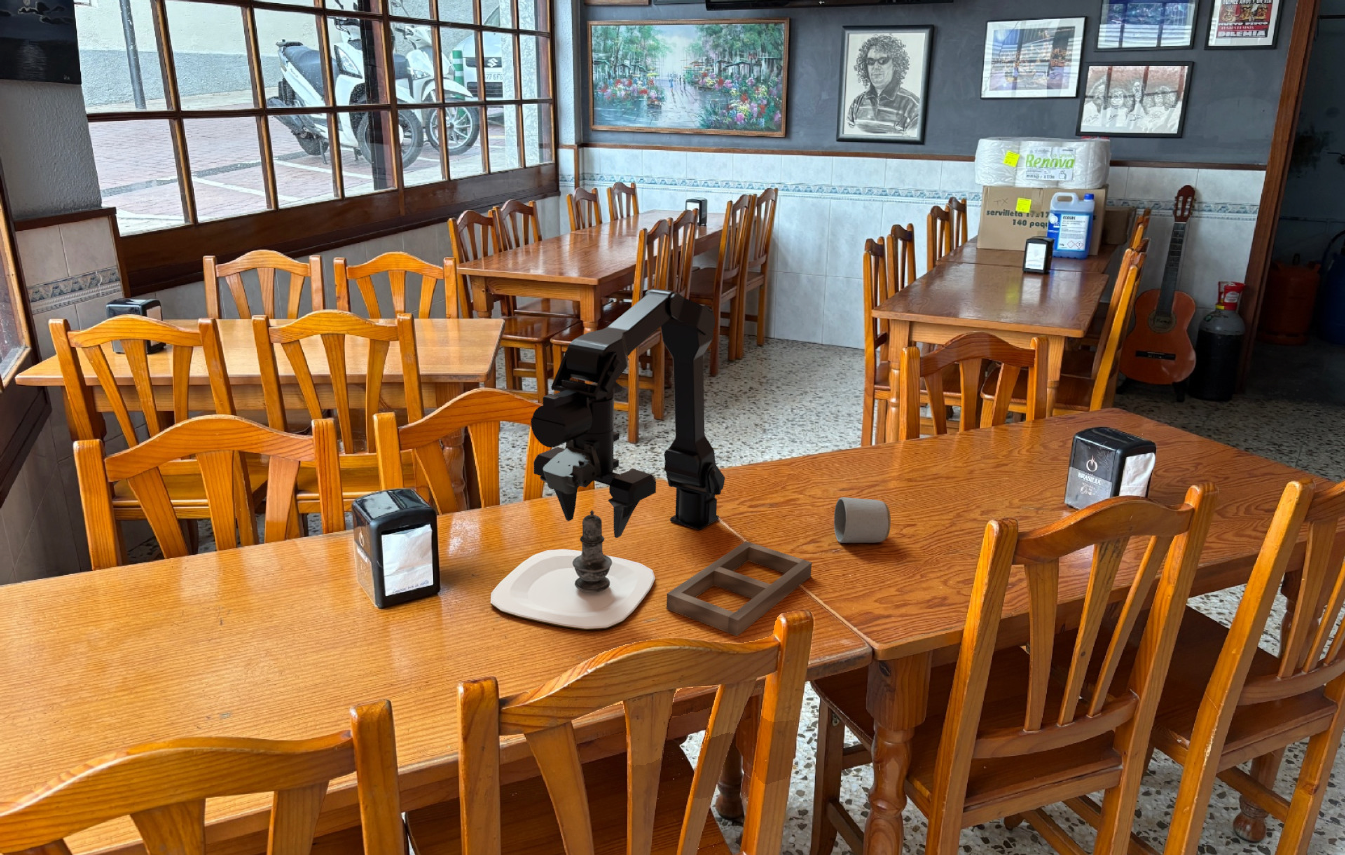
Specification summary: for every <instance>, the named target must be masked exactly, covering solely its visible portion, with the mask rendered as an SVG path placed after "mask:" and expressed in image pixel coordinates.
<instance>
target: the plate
mask: <svg viewBox="0 0 1345 855" xmlns="http://www.w3.org/2000/svg"><path fill="white" fill-rule="evenodd" d="M581 554H582V550H573V549H566V548H564V549H563V548H561V549H547V550H544V551H541V552H538V553H536V554H533V555H531V556H530V557H528V558H526V560H524V561H522V562H521V563H520V564H519V565H518V566H516V567H515V568H514V569H513V570H512V571H511V572H510V573H508V574H507V575H506V577H504V578H503V579H501V581H500V582H499V583H498V584H497V585H496V587H495V588H494V589H493V590H492V591H491V593H490V605H492V606H493V607H494V608H496V609H497V610H499V612H502V613H505V614H507V615H510V616H514V617H517V618H520V619H525V620H529V621H534V622H539V623H542V624H545V625H546V624H548V625H551V626H552V625H553V626H556V627H557V626H558V627H562V628H568V629H575V630H576V629H577V630H583V631H584V630H585V631H591V630H594V631H595V630H605V629H609V628H611V627H614V626H616V625H618V624H621V623H622V622H623V623H624V621H625V620H626V619H627V618H629V616H630V615H631V614H632V613H634V611H635V610H637V608H638V606H640V604H641V603H642V601H643V600H644V599H645V598H646V596H647V595H648V593H649V592H650V591H651V589H652V587H653V585H654V583H655V581H656V577H655V573H654V571H653V569H652V568H649V567H648V566H647V565H644V564H642V563H640V562H637V561H633V560H631V559H630V560H629V559H625V558H622V557H618V556H617V557H616V556H611V555H606V556H608V557H609V558H610V559H611V560H612V565H611V566H610V570H609V572H608V574H607V576H605V577H606V578H608V579H609V581H610V585H609V587H608V588H607V589H605V590H603V591H599V592H584V591H581V590H579V589H577V588H576V586H575V581H576V580H577V579H578V578H579V576H578V575H577V573H576V571H575V567H574V566H573V564H572V563H573V560H574V559H575V558H576V557H578V556H580V555H581Z"/></svg>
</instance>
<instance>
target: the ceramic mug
mask: <svg viewBox="0 0 1345 855" xmlns="http://www.w3.org/2000/svg"><path fill="white" fill-rule="evenodd" d="M891 518H892V517H891V512H890V507H889V506H888V504H887V503H886V502H884V501H882V500H878V499H870V498H869V499H868V498H854V497H844V496H843V497H839V498H838V500H836V504H835V507H834V515H833V526H834V528H833V529H834V535H835V537H836V541H837V542H838V543H841V544H844V543H845V544H846V543H847V544H855V543H857V544H859V543H860V544H862V543H863V544H864V543H867V544H868V543H869V544H870V543H873V544H874V543H875V544H876V543H882V542H884V541H885V540H886V539H887V538H888V537H889V535H890V532H891V525H892V522H891Z"/></svg>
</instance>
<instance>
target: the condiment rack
mask: <svg viewBox="0 0 1345 855" xmlns="http://www.w3.org/2000/svg"><path fill="white" fill-rule="evenodd" d="M747 562H750V563H754V564H755V565H756V564H757V565H760V566H762V567H766V568H768V569H772V570H775V571H777V572H780V573H783V574H782V575H780V577H778V578H777V579H776V580H775V581H774V582H772V583H768V582H766V581H762V580H759V579H756V578H753V577H751V576H747V575H744V574H741V573H738V572H735V570H737V569H738V568H740V567H742V566H743V565H745V563H747ZM812 564H813V562H811V561H810V560H805V559H803V558H800V557H797V556H793V555H791V554H787V553H784V552H781V551H778V550H774V549H772V548H768V547H765V546H764V545H760V544H757V543H753V542H750V541H743V542H742V543H741V544H739V545H737V546H736V547H735V548H733V549H732V550H730V551H728V552H727V553H726V554H724V555H723V556H721V557H720V558H718V559H716V560H715V561H714V562H712V563H711V564H709V565H708V566H706V567H705V568H703V569H702V570H700V571H698V572H697V573H695V574H694V575H693V576H691V577H690V578H688V579H686V580H685V581H683V582H682V583H681V584H679V585H677V586H676V587H674V588H673V589H671V590H670V591H669V592H667V593H666V608H665V609H666V610H668V611H671V612H674V613H676V614H678V615H681V616H684V617H686V618H689V619H692V620H694V621H696V620H697V622H700V623H702V624H704V623H705V625H707V626H709V625H710V626H709V627H712V626H713V627H712V628H714V627H715V628H714V629H717V628H718V629H717V630H721V631H723V632H725V633H728V634H730V635H733V636H735V637H738V636H739V635H741V634H742V633H744V632H745V630H747V629H748V628H749V627H751V626H752V625H753V624H755V622H756V621H758V620H759V619H761V617H763V616H764V615H765V614H767V612H768V613H769V611H770V610H771V609H773V608H774V607H775V606H777V604H778V603H780V602H781V601H782V600H784V599H785V598H786V597H788V596H789V595H790V594H791V593H792V592H794V591H795V590H796V589H798V588H799V587H800V586H801V585H803V583H805V582H806V581H807V580H808V579H810V578H811V575H812ZM713 586H714V587H718V588H720V589H724V590H726V591H730V592H732V593H735V594H738V595H740V596H742V597H746V598H749V599H750V600H749V601H746V603H745V604H744V605H742V606H740V607H739V608H738V609H737V610H736V611H731V610H729V609H727V608H723V607H721V606H718V605H717V604H716V605H715V604H713V603H710V602H707V601H705V600H702V599H700V598H698V597H699V596H700V595H702V594H703V593H705V592H706V591H707V590H709V589H710V588H711V587H713Z"/></svg>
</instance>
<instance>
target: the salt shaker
mask: <svg viewBox="0 0 1345 855" xmlns="http://www.w3.org/2000/svg"><path fill="white" fill-rule="evenodd" d="M581 527H582V535H581V536H580V537H579V541H580V542H581V551H582V554H581V555H580V556H578V557H576V558H575V559H574V560H573V563H572V564H573V566H574V567H575V571H576V573H577V575H578V576H579V578H578V579H577V580H576V581H575V586H576V588H577V589H579V590H581V591H584V592H599V591H603V590H605V589H607V588H608V587H609V585H610V581H609V579H608V578H606V577H605V576H607V574H608V572H609V570H610V566H611V565H612V560H611V559H610V558H609V557H608V556H609V555H607V556H606V555H605V554H604V551H603V542H604V541H605V536H603V521H602V519H601V517H600V516H598V515H596V514H595V512H594V510H590V512H589V514H588V515H585V517H584V518H583V519H582V526H581Z"/></svg>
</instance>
